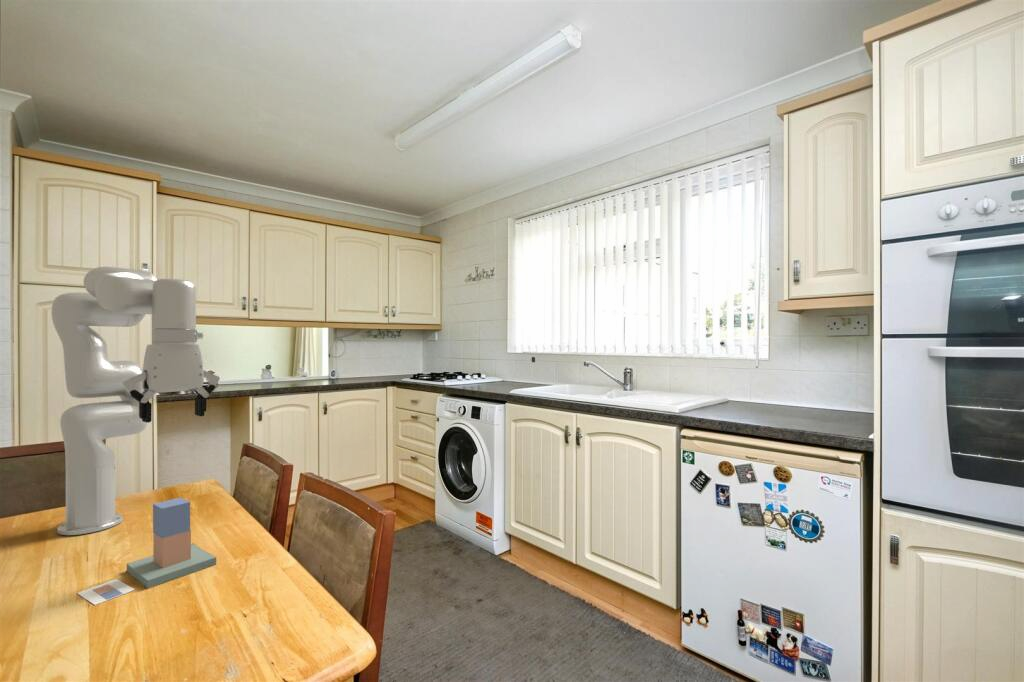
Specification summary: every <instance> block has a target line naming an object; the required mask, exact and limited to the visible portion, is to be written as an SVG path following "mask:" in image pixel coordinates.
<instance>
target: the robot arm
mask: <svg viewBox="0 0 1024 682" xmlns="http://www.w3.org/2000/svg"><path fill="white" fill-rule="evenodd" d="M83 286H84V288H85V290H86V292H66V293H62V294H60V295H57V296H56V297H55V298H54V300H53V301H52V305H51V321H52V324H53V326H54V329H55V331H56V333H57V335H58V337H59V339H60V342H61V345H62V349H63V362H64V363H63V364H64V375H65V376H64V377H65V387H66V390H67V393H68V394H69V396H71V397H72V398H76V399H95V398H96V399H97V398H104V397H105V398H107V397H110V398H111V397H119V398H120V400H115V401H102V402H91V403H82V404H77V405H74V406H73V405H72V406H71V407H68V408H67V409H65V411H64V412H63V413H62V414H61V416H60V421H59V425H60V431H61V434H62V439H63V445H64V452H65V454H64V455H65V522H63V523H62V524H60V525H59V526H57V529H56V530H57V531H56V532H57V534H58V535H61V536H77V535H78V536H79V535H87V534H92V533H95V532H100V531H103V530H106V529H110V528H113V527H115V526H117V525H119V524H120V523H122V522H123V519H124V517H123V514H122V513H118V512H116V458H115V457H116V456H115V453H114V451H113V450H112V448H111V447H109V446H108V445H106V443H104V440H107V439H110V438H119V437H125V436H131V435H137V434H139V433H142V432H143V431H145V430H146V428H147V425H148V423H151V422H152V417H153V416H152V414H153V413H152V406H153V405H152V402H150V400H151V399H152V398H153V397H154V396H155V395H156V393H172V392H174V393H175V392H185V391H193V393H194V394H196V396H195V398H194V415H195V416H197V417H204V416H205V412H206V411H207V398H208V397H210V394H211V393H212V392H214V390H215V389H216V386H217V385H218V383H219V381H220V380H221V378H220V376H219V375H217V374H216V375H215V374H214V373H211V372H209V371H206V370H204V364H203V357H202V351H201V348H200V344H197V342H198V340H202V339H203V338H204V337H203V336H204V334H203V332H199V331H198V329H196V328H197V319H196V318H197V288H196V285H195V284H194V282H192V281H190V280H185V279H179V278H159V279H157V277H156V276H155V275H154V274H153V273H151V271H150V272H149V271H147V270H141V269H135V268H134V269H133V268H125V267H124V268H123V267H116V266H100V267H99V266H98V267H95V268H93V269H91V270H88V272H87V273H86V274H85V275H84V278H83ZM146 315H151V316H152V317H151V318H152V319H151V320H152V322H151V323H152V326H151V327H152V329H151V330H152V333H151V335H152V336H151V339H152V340H151V341H152V343H151V344H147V345H146V348H145V353H144V355H143V356H144V358H143V365H142V366H140V364H138V363H137V362H135V361H132V360H110V359H109V357H108V346H107V343H106V340H104V338H103V337H102V336H101V335H100V334H99V333H98V332H97V331H96V330H94V329H93V328H92V327H113V328H114V327H119V328H121V327H122V328H129V327H134V326H137V325H138V324H140V323H141V322H142V321H143V319H144V317H145V316H146ZM204 378H205V379H208V380H209V382H208V383H207V385H206V386H204V380H205V379H204ZM203 386H204V387H203Z"/></svg>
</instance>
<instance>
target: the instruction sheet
mask: <svg viewBox="0 0 1024 682" xmlns="http://www.w3.org/2000/svg"><path fill="white" fill-rule="evenodd" d="M134 591H135V588H133V587H131V586H129V585H128V584H127V583H124V582H123V581H121V580H119V579H117V578H115V579H113V580H110V581H107V582H104V583H101V584H98V585H95V586H93V587H90V588H87V589H85V590H82V591H78V592H77V595H79V596H80V597H82V598H83V599H85V600H86V601H88V602H90V603H91V604H92V605H94V606H97V605H100V604H101V603H105V602H107V601H109V600H112V599H115V598H118V597H121V596H123V595H125V594H128V593H131V592H134Z"/></svg>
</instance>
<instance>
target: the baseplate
mask: <svg viewBox="0 0 1024 682" xmlns="http://www.w3.org/2000/svg"><path fill="white" fill-rule="evenodd" d="M215 565H217V556H215V555H213V554H212V553H210V552H209V551H207V550H205V549H203V548H202V547H200V546H198V545H197V544H195V543H194V542H193V543H192V542H191V559H189V560H186V561H183V562H180V563H177V564H174V565H171V566H168V567H165V568H162V567H161V566H159V565H158V564H156V563H155V562H153V555H150V556H147V557H143V558H141V559H137V560H135V561H130V562H128V563H126V572H127V573H128V574H130V575H131V576H132V577H133V578H135V579H136V580H137V581H138V582H140V583H141V584H142V585H143V586H145V587H146V588H147V589H150V588H153V587H155V586H159V585H161V584H164V583H168V582H171V581H173V580H175V579H179V578H182V577H184V576H186V575H187V576H188V575H190V574H192V573H196V572H198V571H201V570H203V569H207V568H209V567H212V566H215Z"/></svg>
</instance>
